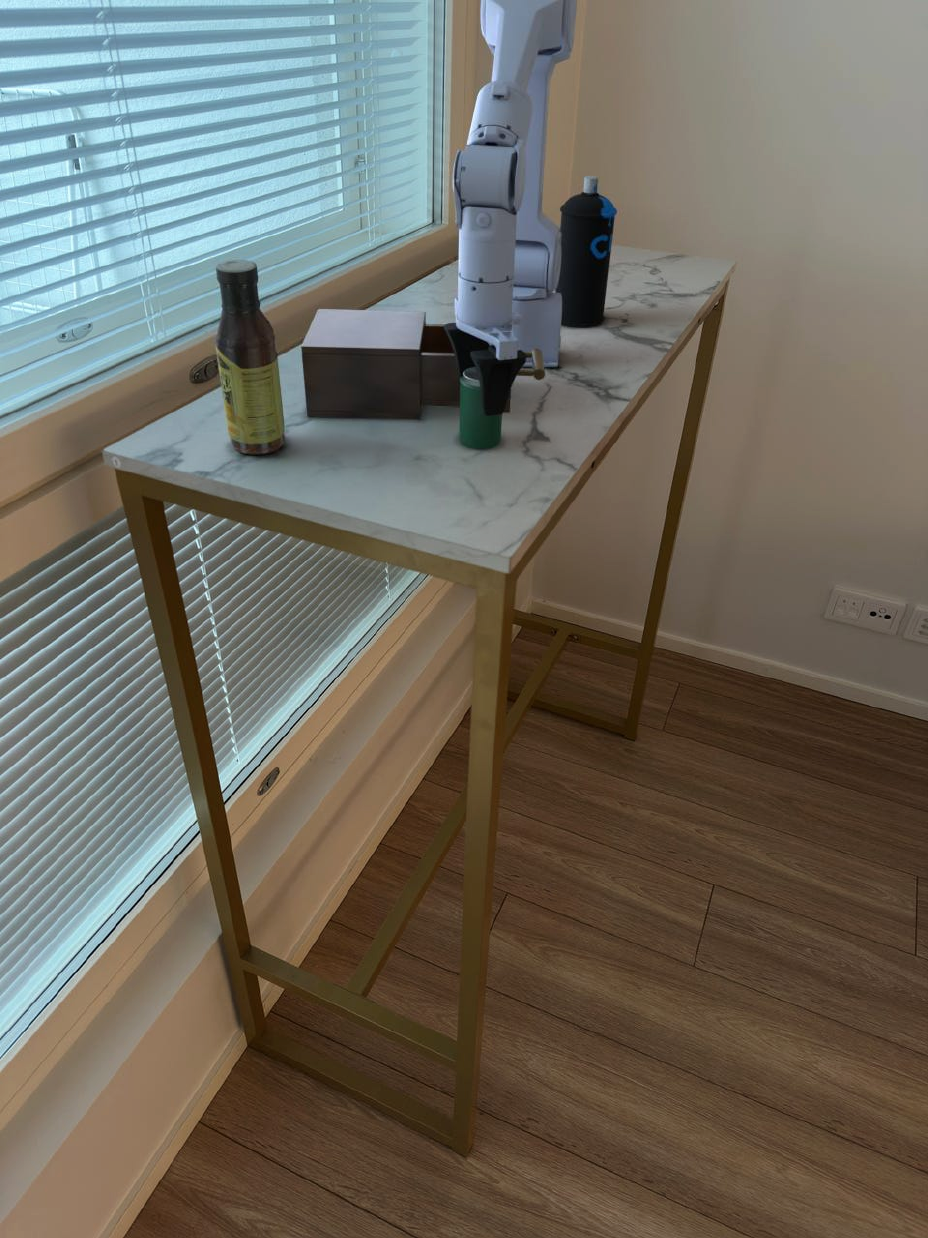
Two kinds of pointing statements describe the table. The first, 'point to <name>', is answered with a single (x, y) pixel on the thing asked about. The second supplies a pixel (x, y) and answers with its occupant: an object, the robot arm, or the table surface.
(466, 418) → the can
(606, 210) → the aerosol can
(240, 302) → the sauce bottle
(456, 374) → the drawer
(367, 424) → the table surface
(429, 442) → the table surface
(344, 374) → the cabinet
